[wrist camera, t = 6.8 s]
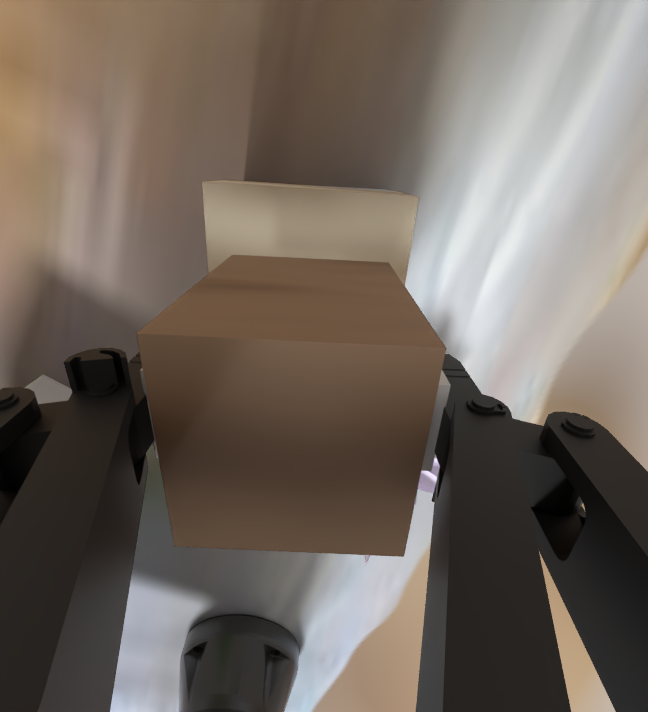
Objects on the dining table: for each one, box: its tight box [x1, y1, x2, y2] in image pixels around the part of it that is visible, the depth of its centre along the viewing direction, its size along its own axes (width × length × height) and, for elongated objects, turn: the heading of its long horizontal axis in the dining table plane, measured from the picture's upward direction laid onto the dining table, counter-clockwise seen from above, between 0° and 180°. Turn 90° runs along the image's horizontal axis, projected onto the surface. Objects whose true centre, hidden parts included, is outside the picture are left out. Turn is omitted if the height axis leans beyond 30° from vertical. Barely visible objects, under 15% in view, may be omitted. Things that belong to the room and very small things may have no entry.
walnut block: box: [136, 255, 446, 557], centre depth 12 cm, size 6×6×8 cm
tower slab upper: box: [202, 180, 419, 286], centre depth 22 cm, size 10×10×5 cm
